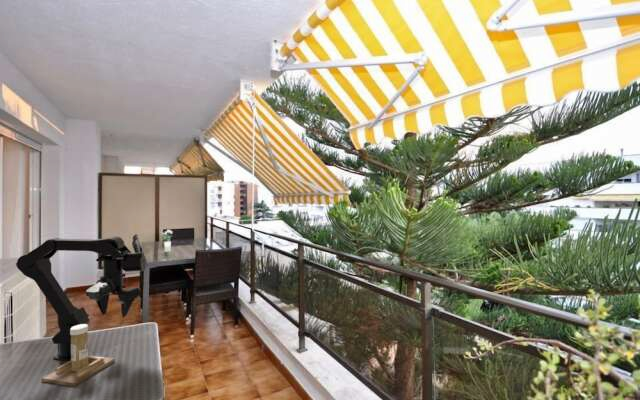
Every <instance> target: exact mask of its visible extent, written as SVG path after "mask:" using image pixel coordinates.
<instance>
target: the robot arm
mask: <svg viewBox="0 0 640 400" xmlns="http://www.w3.org/2000/svg"><path fill="white" fill-rule="evenodd" d="M58 251H65V252H66V251H68V252H69V251H70V252H72V251H73V252H92V253H96V254H99V257H98V258H97V259H95V261H96V262H102V268H103V270H102V272H103V275H102V276H100V278H99V282H97V283H95V284H94V285H92V286H90V287H88V288H87V289H86V290H85V291H86V292H85V293H86V294H85V295H86V297H88V299H89V300H93V301H95V302H96V304H97V306H98V308H99V311H100V313H101V314H102V315H106V314H107V310H108V305H109V299H110V296H111V295H114V296H117V298H118V300H117V301H118V302H119V303H120V307H121V315H122V318H126V316H127V315H128V313H129V311H130V308H131V306H132V304H133V303H134V301H135V300H136V298H138V297H139V296H141V288H139V287H135V286H134V287H133V286H130V287H127V286H126V285H127V284H123V283H124V282H123V279H124V277H126V273H127V272H128V273H130V272H144V271H145V270H146V268H147V259H146V256H145V253H144V251H140V252H132V251H131V250H130V249H129V248H128V247H127V246H126V245H125V241H124V239H122V237H120V236H112V237H110V236H109V237H105V238H104V237H103V238H97V239H89V238H87V239H85V238H84V239H83V238H82V239H81V238H59V237H54V238H49V239H47V240H45V241H44V242H43V243H42V244H39V246H37V247H36V248H34V249H33V250H31V251H30V252H28V253H27V254H23V255H20V257H19V258H18V259H17V261H16V263H15V265H16V268H17V269H18V270H19V271H20V272H21V273H22V274H23V275H24V276H25V277H27V278H29V279H30V280H33V281H34V283H35V284H36V285H37V286H38V288H39V290H40V291H41V292H42V294H43V296H44V297H45V299H46V300H47V302H48V303H49V305H50V306H51V308H52V309H53V311H54V312H55V314H56V315H57V326H58V329H59V331H58V332H57V333H56V334H55V335H54V336H53V337H52V338H51V340H52V342H53V344H54V345H57V354H56V355H55V356H53V357H52V358H53V360H54V359H55V360H60V361H71V335H70V329H71V328H72V327H73V326H76V325H80V324H87V325H88V326H89V325H90V324H89V323H90V318H89V317H90V314H89V313H87V312H86V309H85V308H84V307H83V306H82V307H80V308H78V307H77V306H76V307H75V306H74V304H73V303H72V302H71V300H70V298H69V297H68V296H67V294H66V293H65V290H64V289H63V287H62V286H61V285H60V284H59V282H58V280H57V278H55V276H54V275H53V273H52V262H51V260H50V259H52V258H53V257H54V256H55V254H56V253H57V252H58ZM123 271H125V272H126V273H123ZM126 287H127V288H126Z"/></svg>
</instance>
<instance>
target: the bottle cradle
mask: <svg viewBox="0 0 640 400" xmlns="http://www.w3.org/2000/svg"><path fill="white" fill-rule="evenodd" d="M114 362H115V358H113V357H106V356H97V355H91V354H88V363H89V365H87V366H85V367H84V368H82V369H80V370H78V371H72V370H71V368H72V360H71V359H70V360H68V361H67V362H65V363H63V364H62V365H60V366H58V367H56V368H55V370H54V371H52V372H51V373H49V374H47V375H45V376H43V377H42V378H41V382H44V383H50V384H55V385H63V386H68V387H76V386H77V385H79V384H81V383H82V382H83V381H86V380H87V379H89V378H90V377H92V376H93V375H95V374H96V373H98V372H99V371H101V370H103V369H104V368H106V367H108V366H110V365H111V364H113V363H114Z"/></svg>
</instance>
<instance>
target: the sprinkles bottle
mask: <svg viewBox="0 0 640 400" xmlns="http://www.w3.org/2000/svg"><path fill="white" fill-rule="evenodd" d="M88 332H89V324H88V325H87V324H80V325H76V326H73V327H72V328H71V329H70V335H71V359H70V361H71V360H72V368H71V370H72V371H78V370H80V369H82V368H84V367H85V366H87V365H89V363H88V355H89V339H88V338H89V337H88V336H89V335H88Z"/></svg>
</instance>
